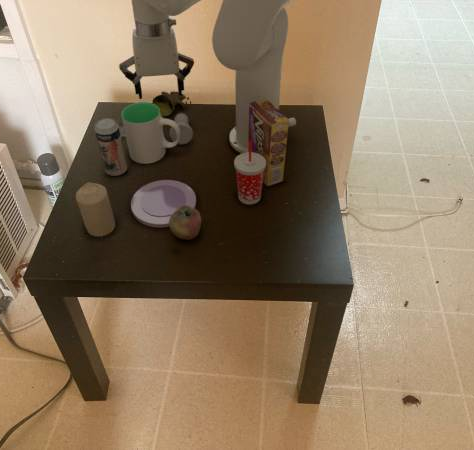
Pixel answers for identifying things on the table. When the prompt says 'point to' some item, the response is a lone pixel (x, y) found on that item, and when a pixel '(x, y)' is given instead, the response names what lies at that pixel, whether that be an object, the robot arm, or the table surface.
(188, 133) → the chess piece
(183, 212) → the apple
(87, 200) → the candle
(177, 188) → the dish
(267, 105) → the candy box
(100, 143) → the canister with white lid
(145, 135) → the mug
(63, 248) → the table surface
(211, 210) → the table surface
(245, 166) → the beverage cup
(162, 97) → the toy
